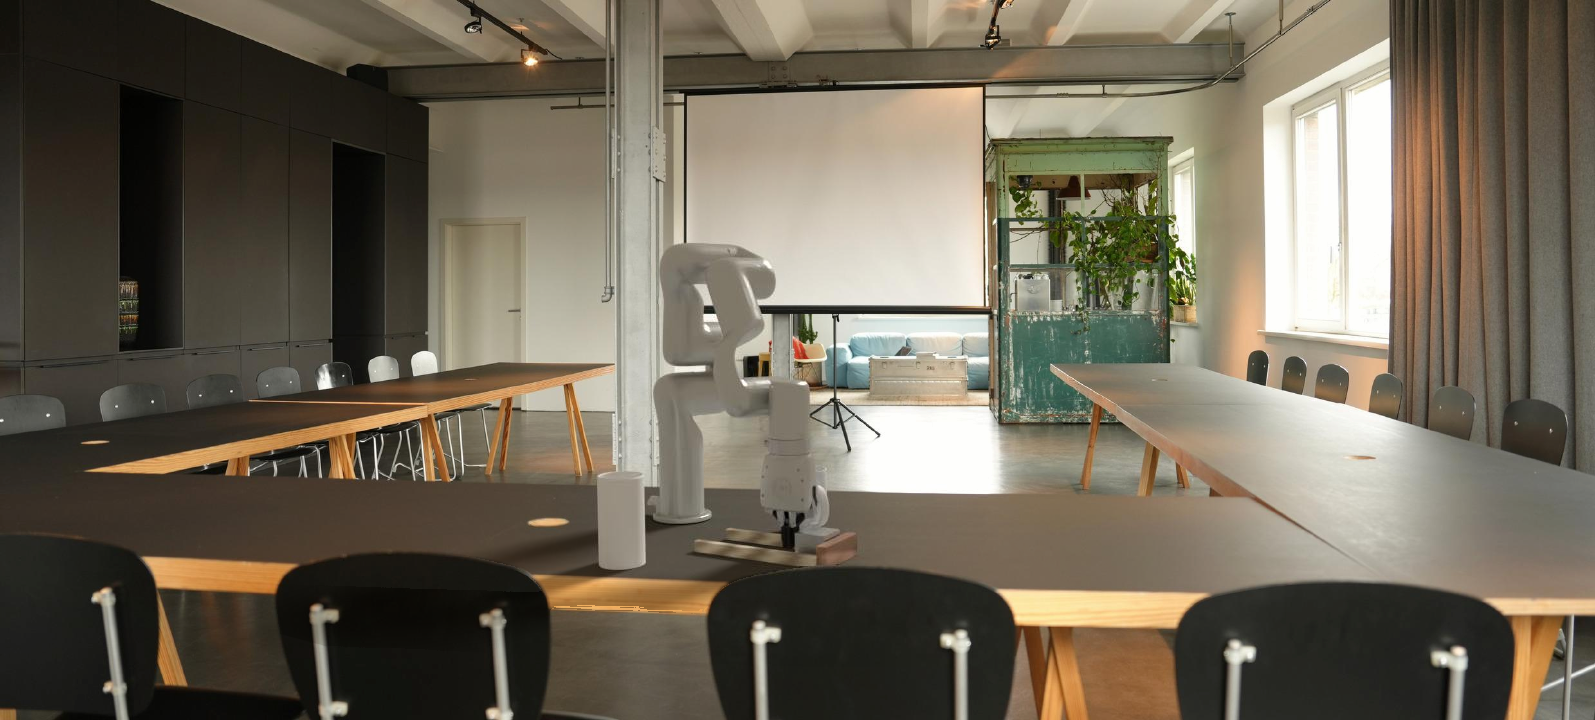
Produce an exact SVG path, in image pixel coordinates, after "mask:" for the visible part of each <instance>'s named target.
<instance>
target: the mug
mask: <svg viewBox="0 0 1595 720" xmlns="http://www.w3.org/2000/svg"><path fill="white" fill-rule="evenodd" d="M815 467H816V473H817V483H818V505H817V507H816V510H817V516H816V517H813V518H808V519H805V520H804V521H803V522H802V524H801V525H799V529H800V530H802V529H805V528H807V527H809V526H815V527H823V526H825V524H826V523H827V522H828V519H829V516H830V503H829V502H830V501H829V498H828V496H827V495H828V482H827V481H828V475H827V474H828V473H827V467H825V466H823V465H817V464H815ZM805 512H806V511H805ZM790 514H791V512H790ZM779 527H780V528H781V526H780V525H779Z"/></svg>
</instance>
